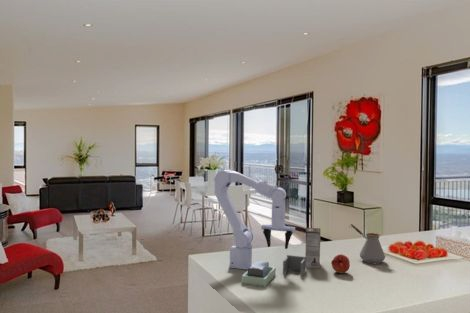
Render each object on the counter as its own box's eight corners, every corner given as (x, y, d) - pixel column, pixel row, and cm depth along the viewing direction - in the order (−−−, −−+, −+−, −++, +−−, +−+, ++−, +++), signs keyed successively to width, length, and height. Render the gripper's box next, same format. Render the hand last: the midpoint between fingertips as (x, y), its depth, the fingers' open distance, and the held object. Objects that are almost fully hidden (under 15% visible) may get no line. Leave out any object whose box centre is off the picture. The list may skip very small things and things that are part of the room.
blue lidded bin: (247, 281, 161) (247, 266, 161) (255, 273, 172) (255, 259, 171) (262, 283, 159) (263, 268, 159) (269, 274, 169) (270, 261, 169)
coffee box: (305, 261, 192) (306, 227, 191) (319, 262, 190) (320, 228, 190) (304, 267, 183) (305, 231, 182) (319, 268, 181) (320, 232, 181)
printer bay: (282, 273, 173) (283, 259, 172) (287, 268, 180) (287, 254, 180) (302, 276, 170) (302, 261, 170) (305, 270, 178) (305, 256, 177)
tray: (241, 283, 160) (241, 275, 160) (253, 271, 175) (253, 264, 175) (265, 286, 157) (265, 278, 157) (275, 274, 172) (275, 267, 171)
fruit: (327, 272, 175) (327, 254, 175) (336, 268, 181) (337, 250, 181) (344, 277, 170) (344, 258, 170) (353, 272, 176) (353, 254, 176)
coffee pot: (390, 263, 191) (391, 231, 190) (371, 266, 186) (372, 233, 185) (358, 252, 210) (359, 223, 210) (340, 254, 205) (341, 224, 205)
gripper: (259, 216, 175) (258, 247, 176) (293, 218, 171) (292, 251, 171) (263, 213, 182) (263, 244, 183) (296, 216, 177) (295, 247, 178)
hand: (277, 247), depth 177 cm, fingers open, 7 cm apart
